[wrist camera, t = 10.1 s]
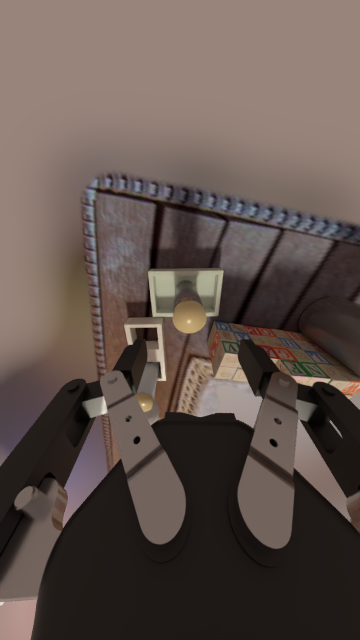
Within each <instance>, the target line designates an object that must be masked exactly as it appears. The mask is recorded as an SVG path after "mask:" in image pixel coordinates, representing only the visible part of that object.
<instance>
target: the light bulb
mask: <svg viewBox="0 0 360 640" xmlns="http://www.w3.org/2000/svg"><path fill="white" fill-rule="evenodd" d="M155 391H156V389H155ZM144 413H145V415H146V417H147V419H148V421H149V423H150V425H152V424H153V423H155V422H156V421H157V419H158V416H159V407H158V404H157V402H156V398H155V394H154V400H153V406H152V409H151V410H149V411H147V412H144Z"/></svg>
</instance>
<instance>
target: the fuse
mask: <svg viewBox="0 0 360 640" xmlns="http://www.w3.org/2000/svg"><path fill="white" fill-rule="evenodd" d="M159 365H160V362H146V365H145V368H144V372H143V375H142V378H141V381H140V384H139V388H138V391H137V394H135V396H136V398H137V400H138V402H139V404H140V406H141V408H142V410H143V411H144V412H147V411H149V410H151V409H152V406H153V400H154V394H155V389H156V383H157V377H158V371H159Z"/></svg>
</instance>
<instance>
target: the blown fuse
mask: <svg viewBox="0 0 360 640" xmlns="http://www.w3.org/2000/svg"><path fill="white" fill-rule="evenodd" d="M206 318H207V317H206V312H205V310H204V307H203V305H202V302H201V299H200V297H199V294H198V291H197V289H196V286H195V285H194V284H193V283H192V282H190V281H181V282H180V283H178V284H177V286H176V288H175V296H174V308H173V323H174V325H175V327H176V328H177V329H178V330H179V331H181V332H184V333H194V332H197V331H199V330H200V329H202V328H203V326H204V325H205V323H206Z"/></svg>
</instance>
